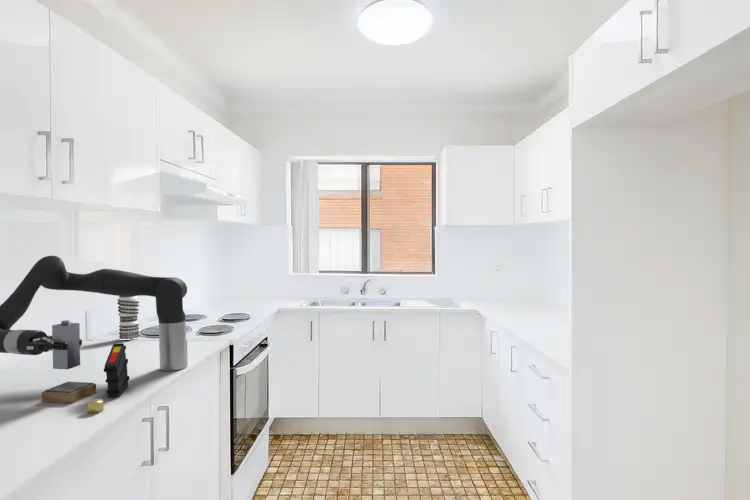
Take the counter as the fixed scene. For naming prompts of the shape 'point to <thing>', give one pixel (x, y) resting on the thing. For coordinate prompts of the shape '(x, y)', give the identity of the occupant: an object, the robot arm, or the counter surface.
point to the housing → (72, 337)
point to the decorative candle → (128, 317)
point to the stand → (68, 392)
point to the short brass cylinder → (95, 406)
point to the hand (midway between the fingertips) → (73, 344)
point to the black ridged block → (116, 371)
